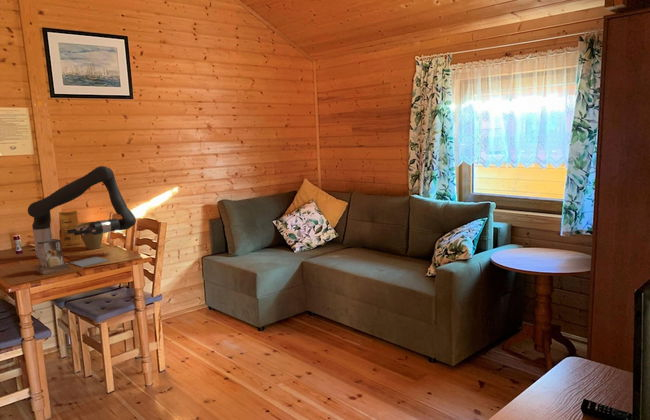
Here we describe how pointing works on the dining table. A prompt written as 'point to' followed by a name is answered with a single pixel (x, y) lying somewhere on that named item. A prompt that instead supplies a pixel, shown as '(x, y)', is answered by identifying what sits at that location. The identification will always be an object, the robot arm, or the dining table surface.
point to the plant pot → (91, 238)
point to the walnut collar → (52, 268)
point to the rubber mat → (88, 261)
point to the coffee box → (50, 253)
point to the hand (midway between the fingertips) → (70, 232)
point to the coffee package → (68, 228)
